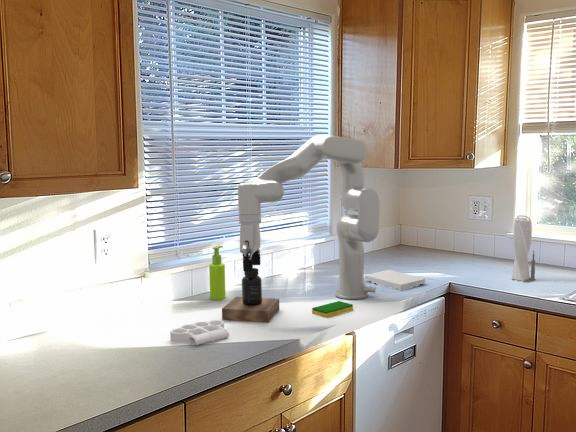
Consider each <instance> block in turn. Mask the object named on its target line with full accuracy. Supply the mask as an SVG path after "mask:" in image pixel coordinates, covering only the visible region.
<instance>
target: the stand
mask: <svg viewBox="0 0 576 432" xmlns="http://www.w3.org/2000/svg"><path fill="white" fill-rule="evenodd" d="M279 311H280V298H274V297H273V298H272V297H262V303H261V304H259V305H245V304H243V301H242V296H235V297H234V298H233V299H231V301H229V302H228V303H227V304H225V306H224V307H222V308H221V321H229V322H232V321H233V322H246V323H247V322H249V323H263V324H264V323H268V324H269V322H270V321H271V320H272V319H273V318H274V317H275V315H276V314H277V313H278V312H279Z"/></svg>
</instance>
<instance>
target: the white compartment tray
mask: <svg viewBox="0 0 576 432" xmlns="http://www.w3.org/2000/svg"><path fill="white" fill-rule="evenodd" d="M224 323H225V322H224V320H220V319H219V320H218V319H212V320H209V321H208V320H207V321H195V322H192V323H189V324H188V323H187V324H183V325H181V326H179V327H177V328H172V329H170V331H169V332H170V335H169V336H170V342H171V341H172V342H171V343H174V342H175V343H174V344H185V343H186V344H189V345H191V346H192V347H197V346H200V345H203V344H208V343H213V342H216V341H220V340H223V339H224V340H225V339H227V338H229V337H230V333H229V331H228V329H226V328H225V324H224Z"/></svg>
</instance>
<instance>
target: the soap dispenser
mask: <svg viewBox="0 0 576 432" xmlns="http://www.w3.org/2000/svg"><path fill="white" fill-rule="evenodd" d="M223 247H224V246H223V245H215V246H213V247H212V250H214V251H213V252H214V254H213V255H212V256H211V258H212V259H211V260H212V261H211V262H212V263H210V264H208V271H209V272H208V273H209V299H210V300H213V301H220V300H225V299H226V265H225V263H223V262H222V255H221V254H220V249H221V248H223Z"/></svg>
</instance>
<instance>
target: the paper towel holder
mask: <svg viewBox="0 0 576 432" xmlns="http://www.w3.org/2000/svg"><path fill="white" fill-rule="evenodd" d="M532 226H533V225H532V220H531V218H530V217H529V216H527V215H521V214H520V215H517V216H516V217H515V218H514V224H513V230H512V232H513V234H512V237H513V238H512V241H513V242H512V243H513V251H514V261H513V267H512V274H511V280H512V281H515V280H517V281H516V282H521V281H523V282H522V283H527V282H528V283H530V281H531V282H533V281H534V282H535V281H536V280H537V279H536V276H535V275H536V274H535V273H536V270H535V269H536V266H535V265H536V260H535V250H532V260H531V261H530V262H529V257H528V256H529V252H530V248H531V244H532V238H533V237H532V235H533V233H532V232H533V230H532ZM529 263H531V264H530V265H531V267H530V265H529Z"/></svg>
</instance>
